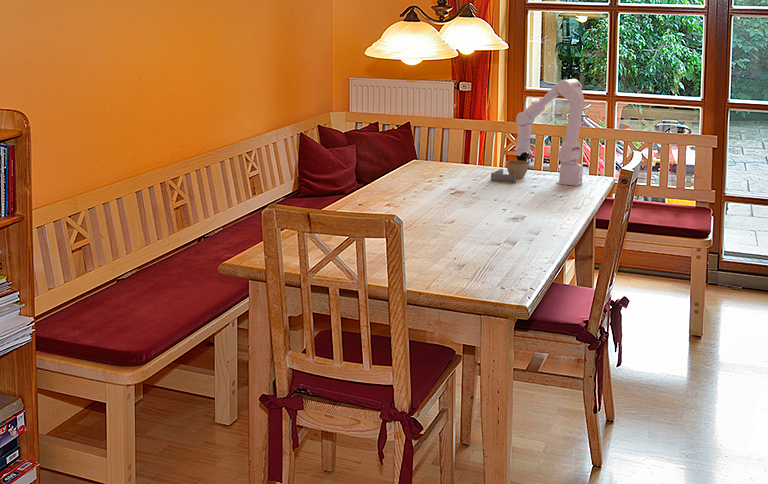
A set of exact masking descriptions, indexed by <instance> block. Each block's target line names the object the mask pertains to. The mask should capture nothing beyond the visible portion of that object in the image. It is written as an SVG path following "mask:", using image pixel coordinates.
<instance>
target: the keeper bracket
mask: <svg viewBox="0 0 768 484" xmlns="http://www.w3.org/2000/svg"><path fill="white" fill-rule="evenodd" d="M516 180H517V179H516V175H509V173H508V174H507V173H504V168H499V169H497V170H495V171H492V172H491V173H490V182H496V183H504V184H516V183H517V181H516Z"/></svg>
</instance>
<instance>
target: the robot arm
mask: <svg viewBox="0 0 768 484" xmlns="http://www.w3.org/2000/svg"><path fill="white" fill-rule="evenodd" d="M582 86H583V85H582V83H580V81H579V80H578V79H576V78H572V79H562V80H561V79H560V80H559V81H558V82H557V83H555V84H554V85H553V87H552V88H551V89H549V90H548V92H547V93H545V94H544V96H543V97H542V98H541V99H540V100H533V101H532V102H531V103H530V105H529V106H528V107H527V108H524V109H523V111H520V112H518V114H517V115H516V118H515V121H516V123H517V140H516V141H517V142H516V147H514V148H513V150H514V151H515V154H514V155H515V158H516V160H520V161H527V162H528V160H529V158H530V156H531V153H529V152H531V135H532V134H531V133H532V127H533V126H532V125H533V124H534V122H535V119H537V117H539V116H540V115H541V114H542V113H543V112H545V107H546V106H547V105H549V103H551V102H552V101H553V100H555V99H556V98H558V97H559V96H561V97H563V98H565V99H566V100H567V101H568V102H569V103H570V105H569V112H568V120H567V126H566V131H565V139H564V141H563V143H562V144H561V147H560V150H559V151H558V153H557V158H558V160H559V162H560V163H559V164H560V166H559V178H558V179H559V180H558V181H556V182H555V183H556V184H557V185H567V186H575V187H578V186H580V185H581V184H583V173H584V165H583V164H580V163H579V160H580V159H581V156H582V150H581V143H580V142H579V137H580V131H581V125H582V117H583V111H584V106H585V97H584V93H583V91H582V89H583V87H582Z"/></svg>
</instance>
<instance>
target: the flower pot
mask: <svg viewBox="0 0 768 484" xmlns="http://www.w3.org/2000/svg"><path fill="white" fill-rule="evenodd" d="M505 162H506V169H507V172H508V174H509V175H516V180H522V179H523V178H524V177H525V176H526V174H527V173H528V169H529V167H530V166H529V165H530V162H529V161H528V160H527V161H520V160H517V159H515V160H513V159H512V160H508V161H507V160H506V161H505Z"/></svg>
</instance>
